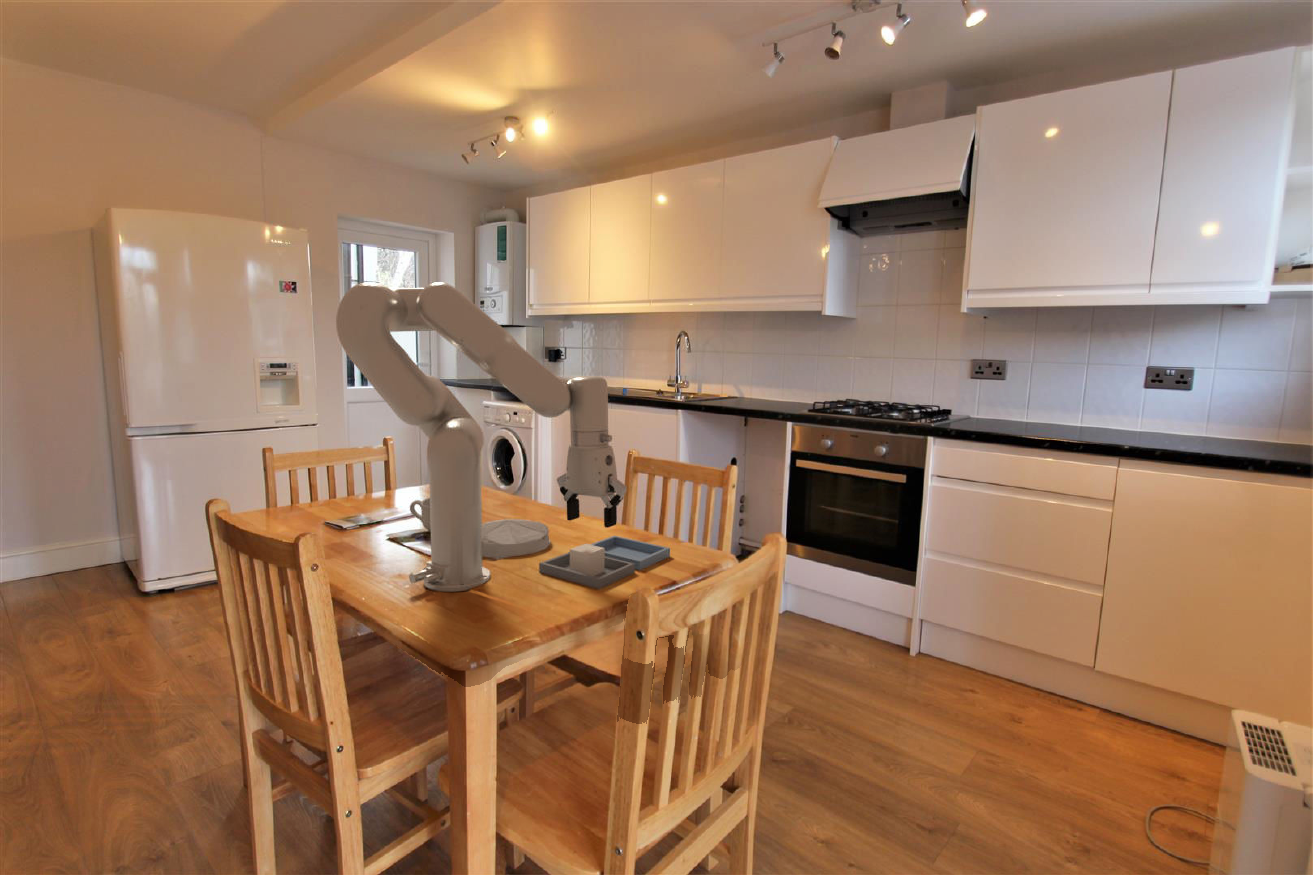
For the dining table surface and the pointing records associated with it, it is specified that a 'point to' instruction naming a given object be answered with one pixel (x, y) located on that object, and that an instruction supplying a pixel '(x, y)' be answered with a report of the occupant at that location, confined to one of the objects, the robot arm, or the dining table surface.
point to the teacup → (425, 512)
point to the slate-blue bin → (633, 551)
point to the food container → (513, 538)
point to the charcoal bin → (611, 574)
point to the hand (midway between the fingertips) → (591, 522)
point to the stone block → (587, 559)
